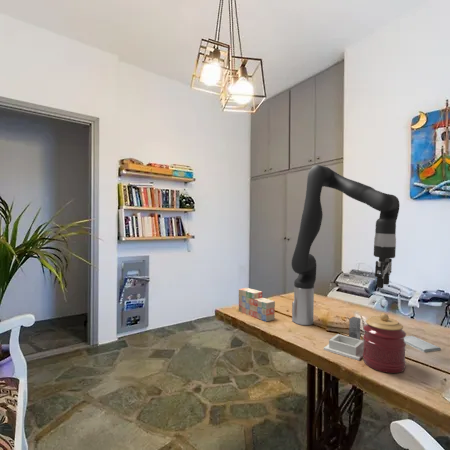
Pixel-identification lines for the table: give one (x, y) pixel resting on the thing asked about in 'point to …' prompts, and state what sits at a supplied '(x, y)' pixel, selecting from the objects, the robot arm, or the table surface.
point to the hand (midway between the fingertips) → (382, 286)
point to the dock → (346, 346)
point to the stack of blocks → (256, 304)
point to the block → (354, 327)
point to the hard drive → (420, 344)
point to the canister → (384, 344)
